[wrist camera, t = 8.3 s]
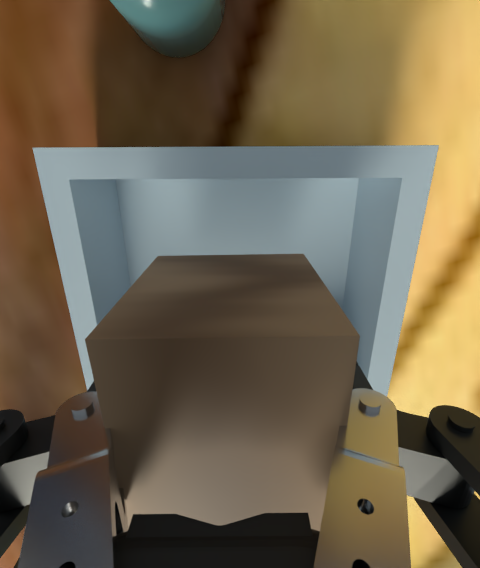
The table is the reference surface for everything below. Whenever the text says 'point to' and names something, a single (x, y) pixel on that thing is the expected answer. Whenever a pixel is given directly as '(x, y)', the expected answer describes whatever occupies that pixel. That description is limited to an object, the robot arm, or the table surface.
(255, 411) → the walnut block
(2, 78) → the table surface
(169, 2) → the teal glossy cylinder
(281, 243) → the blue-grey tote
